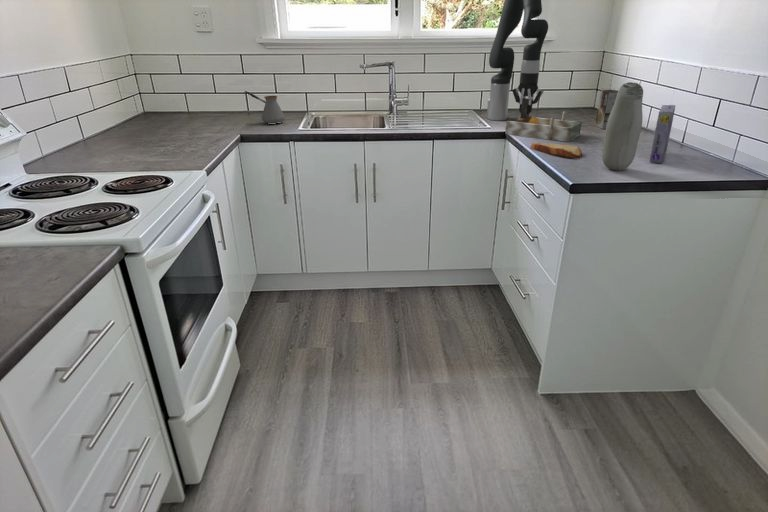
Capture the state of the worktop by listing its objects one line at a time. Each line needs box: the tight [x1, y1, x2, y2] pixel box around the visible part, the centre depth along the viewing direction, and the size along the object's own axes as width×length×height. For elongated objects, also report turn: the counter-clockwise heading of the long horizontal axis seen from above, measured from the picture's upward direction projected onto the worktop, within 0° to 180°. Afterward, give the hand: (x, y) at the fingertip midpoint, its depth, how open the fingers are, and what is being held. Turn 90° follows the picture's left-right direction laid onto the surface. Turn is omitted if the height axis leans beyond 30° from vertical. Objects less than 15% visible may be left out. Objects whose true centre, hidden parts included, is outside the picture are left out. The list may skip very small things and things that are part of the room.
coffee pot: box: [242, 90, 286, 123], centre depth 244 cm, size 21×12×15 cm, turn 68°
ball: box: [529, 116, 538, 124], centre depth 215 cm, size 4×4×4 cm
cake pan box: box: [649, 104, 676, 164], centre depth 175 cm, size 19×5×18 cm, turn 150°
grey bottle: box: [601, 81, 644, 171], centre depth 160 cm, size 10×10×28 cm
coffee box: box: [594, 89, 618, 130], centre depth 222 cm, size 9×6×16 cm
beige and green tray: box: [504, 111, 583, 143], centre depth 212 cm, size 28×17×9 cm, turn 54°
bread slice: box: [529, 142, 583, 159], centre depth 187 cm, size 18×18×4 cm
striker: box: [516, 97, 533, 123], centre depth 215 cm, size 2×12×11 cm, turn 144°
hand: (525, 112), depth 215 cm, fingers closed on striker, 2 cm apart
